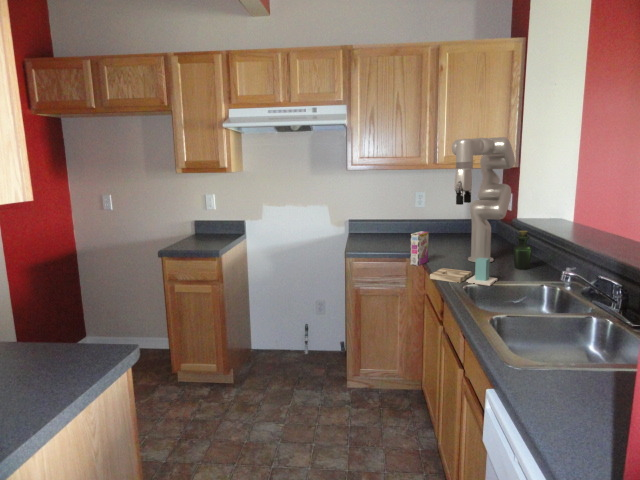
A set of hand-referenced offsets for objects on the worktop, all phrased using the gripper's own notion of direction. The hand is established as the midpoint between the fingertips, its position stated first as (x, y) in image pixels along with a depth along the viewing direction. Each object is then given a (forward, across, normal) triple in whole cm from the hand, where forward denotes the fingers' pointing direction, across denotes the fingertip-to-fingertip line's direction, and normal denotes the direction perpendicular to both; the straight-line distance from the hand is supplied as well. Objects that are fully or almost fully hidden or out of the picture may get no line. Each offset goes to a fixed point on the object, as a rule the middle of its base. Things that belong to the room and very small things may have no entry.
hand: (463, 203), depth 205 cm
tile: (+32, +14, +14) cm, 38 cm away
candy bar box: (+32, -4, -24) cm, 41 cm away
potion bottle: (+32, -19, +22) cm, 44 cm away
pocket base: (+32, +14, 0) cm, 35 cm away
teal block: (+31, +14, +14) cm, 37 cm away
